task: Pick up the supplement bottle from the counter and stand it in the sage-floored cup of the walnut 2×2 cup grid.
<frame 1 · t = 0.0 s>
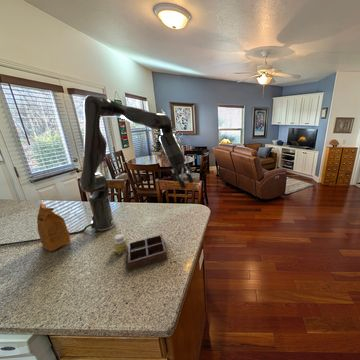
hand: (188, 185, 93), 31 cm above the counter, tool tilted 20°, fingers open, 8 cm apart
supplement bottle: (122, 251, 93), on the counter
coffee package: (57, 244, 98), on the counter
grid: (147, 254, 91), on the counter
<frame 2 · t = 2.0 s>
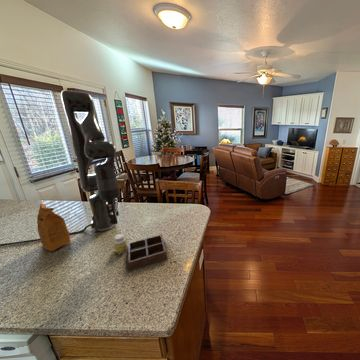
hand: (115, 219, 88), 18 cm above the counter, tool pointing down, fingers open, 8 cm apart
nothing on the counter moved.
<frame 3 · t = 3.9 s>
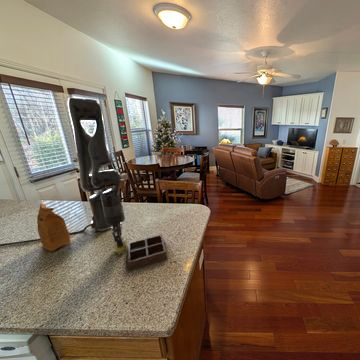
hand: (120, 243, 92), 4 cm above the counter, tool pointing down, fingers closed on supplement bottle, 4 cm apart
supplement bottle: (122, 251, 93), on the counter, touching gripper
everything else where it was.
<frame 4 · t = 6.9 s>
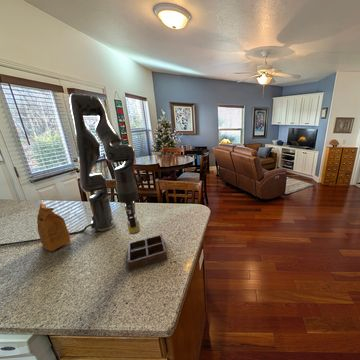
hand: (133, 224, 88), 16 cm above the counter, tool pointing down, fingers closed on supplement bottle, 4 cm apart
supplement bottle: (135, 232, 89), point 11 cm above the counter, touching gripper
everything else where it was.
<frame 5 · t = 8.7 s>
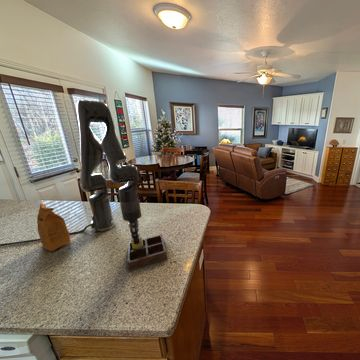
hand: (136, 240, 90), 7 cm above the counter, tool pointing down, fingers closed on supplement bottle, 4 cm apart
supplement bottle: (138, 248, 92), point 2 cm above the counter, touching gripper
everything else where it was.
when the fingers open (5 cm above the counter, at t = 9.7 s): supplement bottle stays where it is, resting on grid.
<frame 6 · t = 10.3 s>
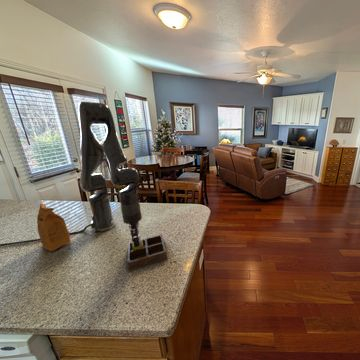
hand: (136, 241, 90), 6 cm above the counter, tool pointing down, fingers open, 8 cm apart
supplement bottle: (138, 250, 92), point 1 cm above the counter, touching grid
everything else where it was.
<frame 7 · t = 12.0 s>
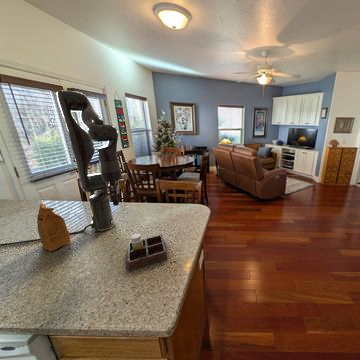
hand: (116, 201, 91), 24 cm above the counter, tool pointing down, fingers open, 8 cm apart
nothing on the counter moved.
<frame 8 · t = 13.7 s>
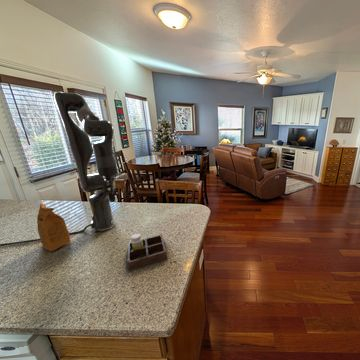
hand: (113, 197, 92), 26 cm above the counter, tool pointing down, fingers open, 8 cm apart
nothing on the counter moved.
at the end: supplement bottle 0.1 cm from the target spot in the grid, point 0.6 cm above the grid's base; supplement bottle tilted 0°; the gripper is holding nothing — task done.
